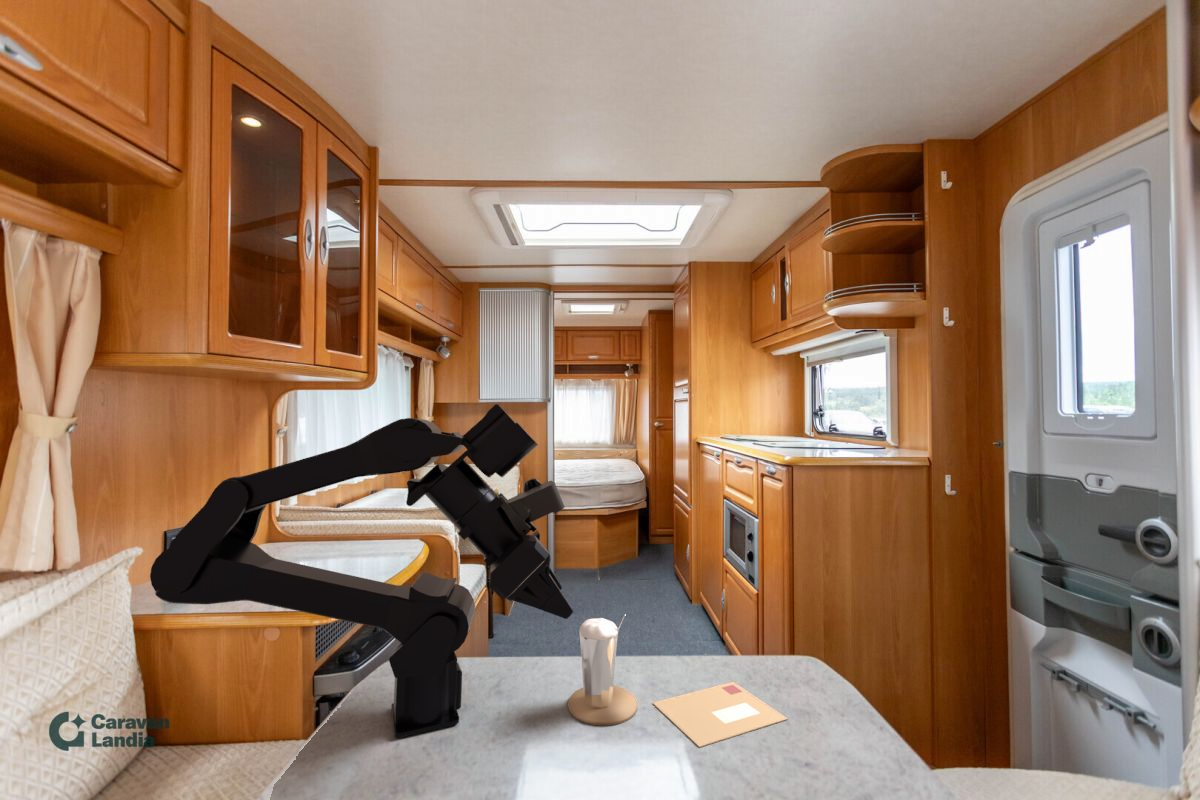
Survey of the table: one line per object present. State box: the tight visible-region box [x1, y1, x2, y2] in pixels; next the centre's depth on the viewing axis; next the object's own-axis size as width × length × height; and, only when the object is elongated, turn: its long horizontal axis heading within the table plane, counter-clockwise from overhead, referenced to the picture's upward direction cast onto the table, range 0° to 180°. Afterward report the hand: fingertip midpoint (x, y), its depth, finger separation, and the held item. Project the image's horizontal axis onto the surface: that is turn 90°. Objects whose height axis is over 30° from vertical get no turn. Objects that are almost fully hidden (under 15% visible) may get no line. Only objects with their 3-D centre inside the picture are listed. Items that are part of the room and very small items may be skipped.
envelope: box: [652, 681, 788, 748], centre depth 57 cm, size 12×9×1 cm
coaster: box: [567, 685, 638, 727], centre depth 58 cm, size 8×8×1 cm
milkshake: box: [579, 614, 626, 708], centre depth 59 cm, size 4×5×10 cm
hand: (564, 602), depth 59 cm, fingers open, 9 cm apart
